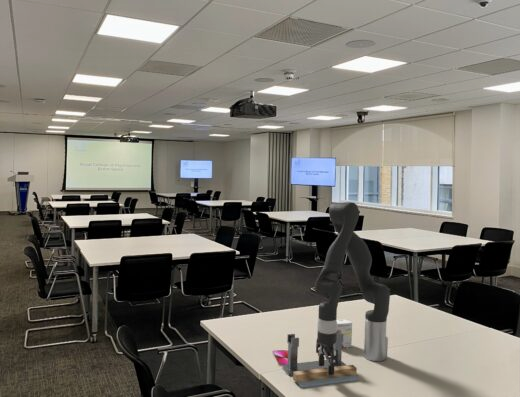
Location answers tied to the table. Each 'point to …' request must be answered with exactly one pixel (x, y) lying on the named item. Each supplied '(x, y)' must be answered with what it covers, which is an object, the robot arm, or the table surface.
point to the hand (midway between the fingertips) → (326, 370)
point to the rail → (324, 373)
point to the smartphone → (281, 357)
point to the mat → (327, 381)
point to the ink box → (345, 332)
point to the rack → (294, 366)
